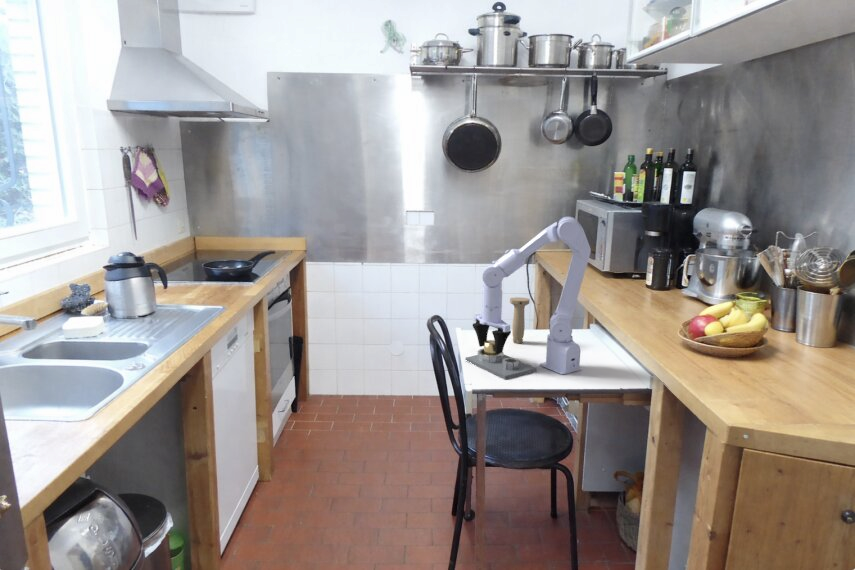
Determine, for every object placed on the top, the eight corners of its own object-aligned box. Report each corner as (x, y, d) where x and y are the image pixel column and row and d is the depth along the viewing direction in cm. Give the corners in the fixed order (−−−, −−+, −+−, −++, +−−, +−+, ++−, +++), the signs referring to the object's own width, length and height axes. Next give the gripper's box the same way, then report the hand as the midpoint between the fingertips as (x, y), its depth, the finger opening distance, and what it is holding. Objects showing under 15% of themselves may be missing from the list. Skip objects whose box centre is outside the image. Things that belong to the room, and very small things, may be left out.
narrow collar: (521, 368, 164) (521, 361, 164) (509, 371, 162) (509, 364, 161) (510, 363, 168) (511, 356, 167) (499, 366, 165) (499, 359, 165)
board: (536, 371, 164) (536, 367, 164) (504, 379, 158) (504, 376, 158) (495, 353, 179) (495, 350, 179) (465, 360, 173) (465, 357, 172)
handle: (528, 344, 188) (530, 300, 185) (509, 344, 188) (511, 300, 185) (526, 340, 193) (528, 297, 190) (507, 340, 193) (508, 297, 190)
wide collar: (508, 359, 171) (508, 353, 170) (488, 364, 167) (488, 357, 166) (491, 352, 177) (492, 346, 177) (472, 357, 173) (472, 350, 173)
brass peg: (501, 358, 172) (501, 343, 170) (490, 361, 169) (490, 345, 168) (491, 354, 175) (492, 339, 174) (480, 357, 173) (481, 341, 172)
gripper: (466, 302, 172) (465, 344, 175) (497, 312, 160) (496, 358, 163) (484, 299, 176) (483, 341, 179) (516, 309, 164) (514, 354, 167)
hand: (490, 349), depth 171 cm, fingers open, 7 cm apart
